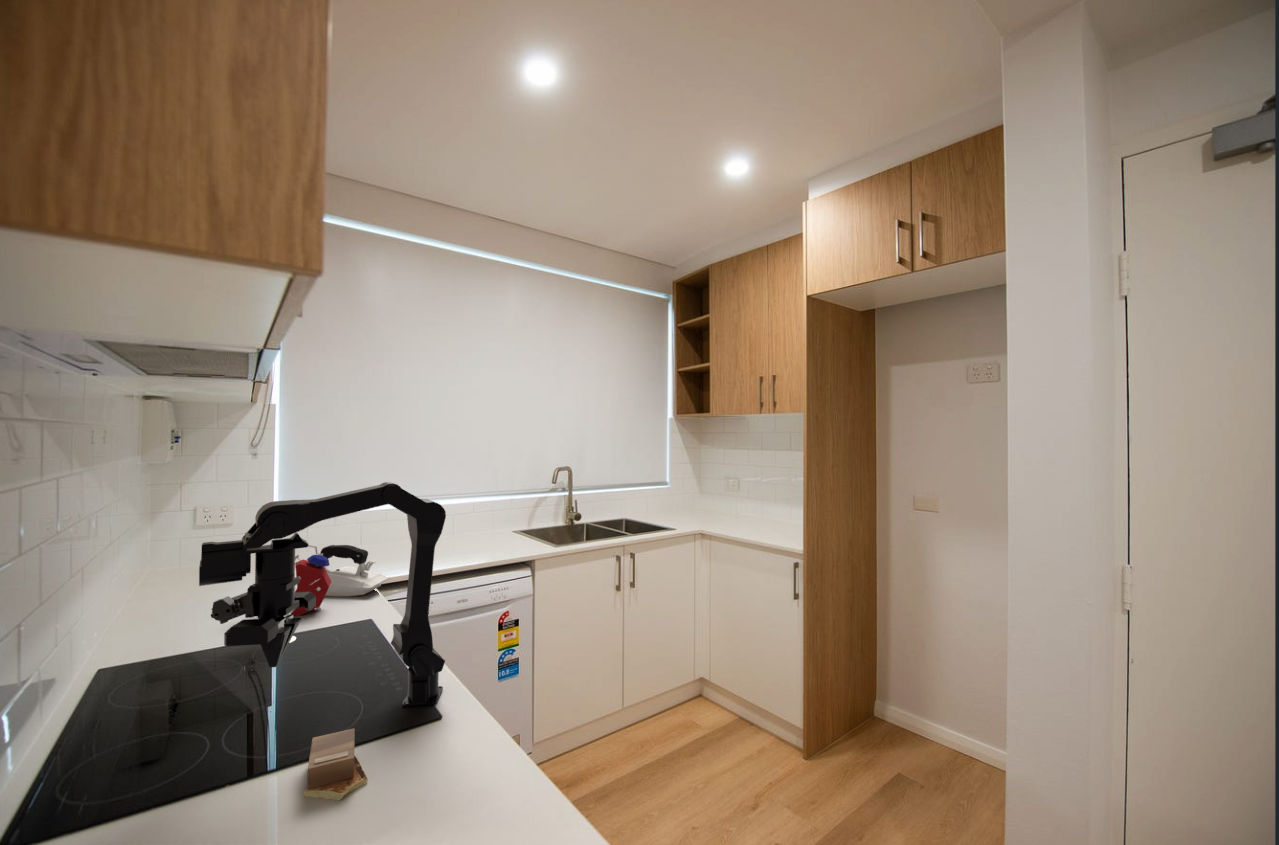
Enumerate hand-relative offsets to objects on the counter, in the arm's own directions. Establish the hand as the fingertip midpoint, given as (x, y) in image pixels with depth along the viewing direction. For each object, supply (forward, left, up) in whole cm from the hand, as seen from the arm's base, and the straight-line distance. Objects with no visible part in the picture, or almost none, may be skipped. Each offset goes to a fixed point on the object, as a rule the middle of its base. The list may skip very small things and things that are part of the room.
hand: (273, 666), depth 93 cm
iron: (-87, -19, -13) cm, 90 cm away
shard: (+12, +14, -14) cm, 23 cm away
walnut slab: (+6, +12, -10) cm, 17 cm away
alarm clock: (-67, -24, -13) cm, 72 cm away
